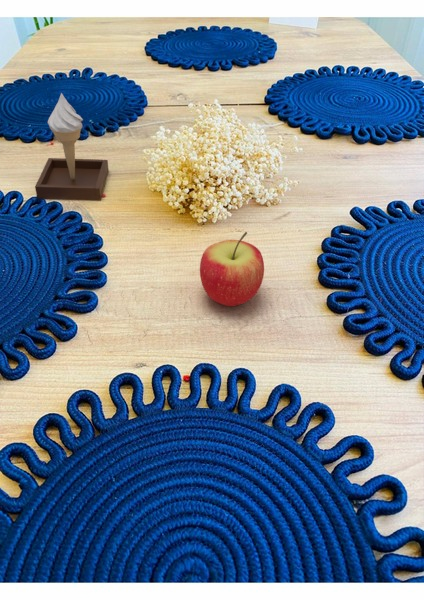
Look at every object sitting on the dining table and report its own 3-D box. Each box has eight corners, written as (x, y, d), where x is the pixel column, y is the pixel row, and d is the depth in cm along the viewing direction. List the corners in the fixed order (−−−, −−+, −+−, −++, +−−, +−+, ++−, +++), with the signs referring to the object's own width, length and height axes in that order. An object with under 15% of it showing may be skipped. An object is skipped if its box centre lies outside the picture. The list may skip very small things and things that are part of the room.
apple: (273, 305, 71) (282, 243, 64) (218, 325, 67) (222, 262, 61) (239, 271, 76) (245, 211, 69) (187, 289, 73) (188, 227, 66)
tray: (37, 198, 89) (34, 186, 88) (50, 169, 97) (48, 157, 96) (100, 200, 90) (99, 188, 88) (108, 171, 98) (107, 159, 96)
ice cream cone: (54, 174, 94) (40, 88, 84) (86, 170, 96) (76, 85, 86) (59, 189, 90) (45, 100, 80) (92, 184, 92) (82, 97, 82)
